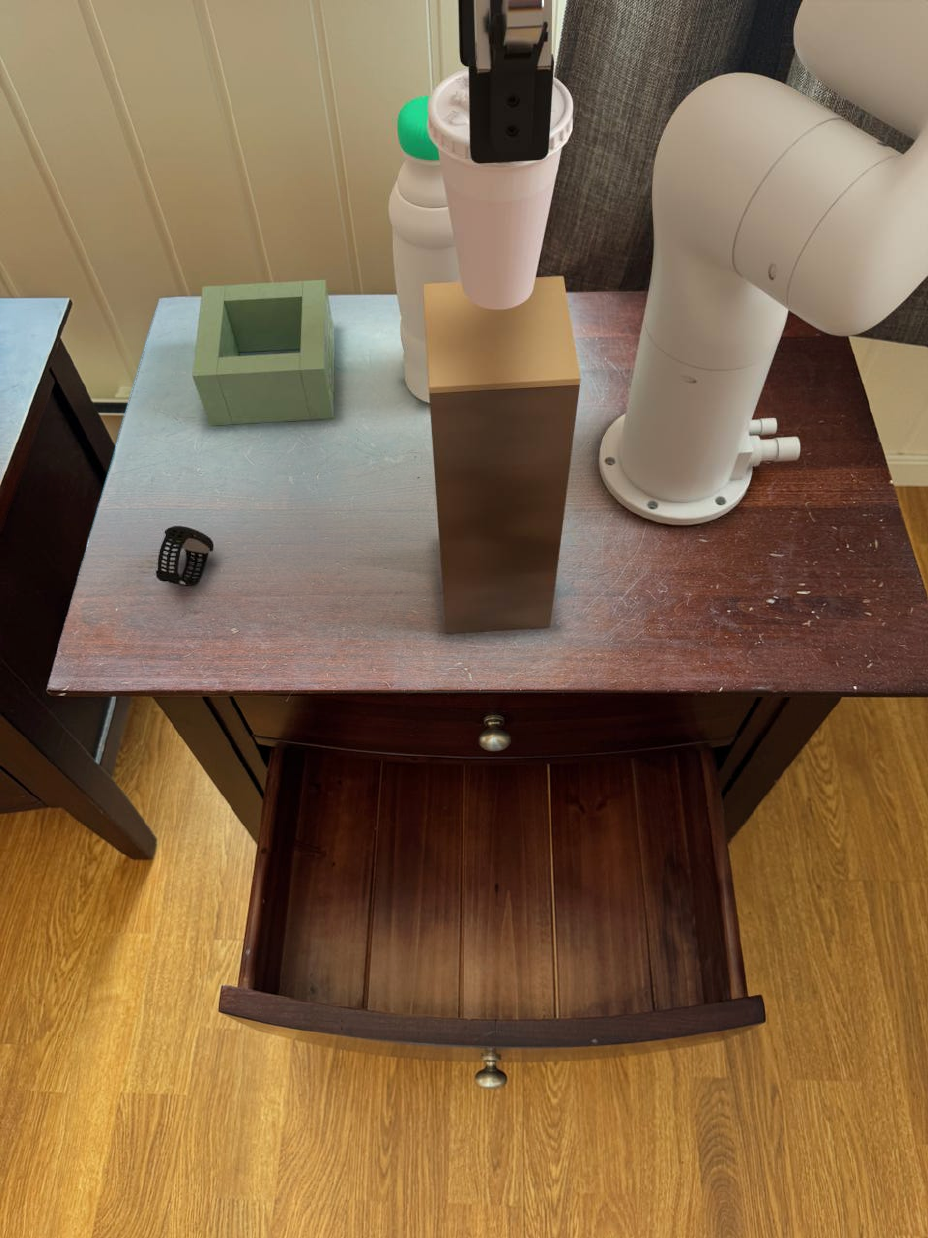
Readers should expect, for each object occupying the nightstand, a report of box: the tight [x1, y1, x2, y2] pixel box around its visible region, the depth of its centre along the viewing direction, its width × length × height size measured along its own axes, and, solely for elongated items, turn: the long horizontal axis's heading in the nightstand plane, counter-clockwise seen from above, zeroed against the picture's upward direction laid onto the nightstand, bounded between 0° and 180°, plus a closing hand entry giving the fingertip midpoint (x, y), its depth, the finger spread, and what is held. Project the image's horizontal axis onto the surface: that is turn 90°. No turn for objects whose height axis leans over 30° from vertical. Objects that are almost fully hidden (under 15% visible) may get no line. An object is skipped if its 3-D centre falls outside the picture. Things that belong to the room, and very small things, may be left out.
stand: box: [192, 279, 335, 427], centre depth 83 cm, size 11×11×6 cm
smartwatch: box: [155, 525, 215, 588], centre depth 73 cm, size 4×5×5 cm
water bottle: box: [387, 94, 461, 404], centre depth 75 cm, size 7×7×25 cm
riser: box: [423, 275, 582, 634], centre depth 63 cm, size 8×8×26 cm
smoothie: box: [427, 67, 574, 310], centre depth 43 cm, size 6×6×14 cm
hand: (501, 103), depth 41 cm, fingers closed on smoothie, 6 cm apart
